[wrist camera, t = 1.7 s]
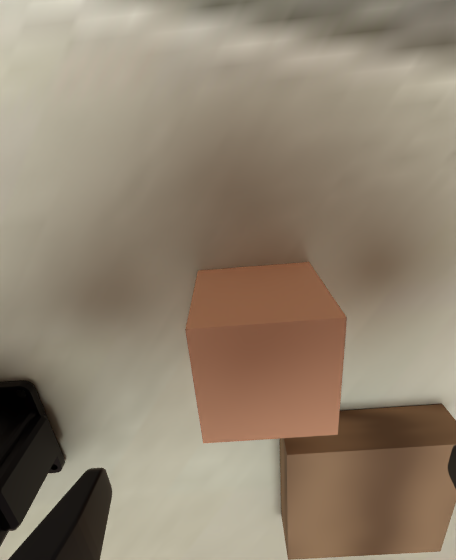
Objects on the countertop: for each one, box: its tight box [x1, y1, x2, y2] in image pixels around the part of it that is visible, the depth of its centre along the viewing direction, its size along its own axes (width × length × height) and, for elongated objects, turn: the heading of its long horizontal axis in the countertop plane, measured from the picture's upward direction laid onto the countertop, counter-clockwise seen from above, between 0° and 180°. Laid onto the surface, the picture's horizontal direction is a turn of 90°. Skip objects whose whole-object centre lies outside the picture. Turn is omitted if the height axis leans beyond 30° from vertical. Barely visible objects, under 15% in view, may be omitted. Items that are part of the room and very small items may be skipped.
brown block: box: [280, 404, 456, 560], centre depth 19 cm, size 9×9×2 cm
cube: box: [185, 262, 347, 443], centre depth 13 cm, size 5×5×5 cm
